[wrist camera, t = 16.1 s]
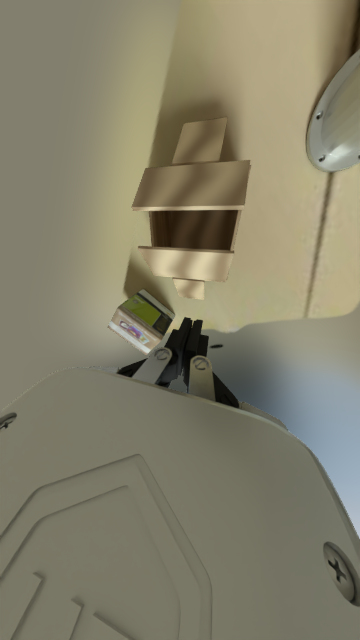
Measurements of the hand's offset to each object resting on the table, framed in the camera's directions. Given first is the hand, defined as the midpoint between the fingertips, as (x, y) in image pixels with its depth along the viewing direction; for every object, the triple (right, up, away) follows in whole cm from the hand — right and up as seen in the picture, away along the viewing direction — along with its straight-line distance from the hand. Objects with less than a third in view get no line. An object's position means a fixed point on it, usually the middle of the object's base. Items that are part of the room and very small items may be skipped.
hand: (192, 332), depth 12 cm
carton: (+4, +23, +22) cm, 32 cm away
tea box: (-11, +5, +39) cm, 41 cm away
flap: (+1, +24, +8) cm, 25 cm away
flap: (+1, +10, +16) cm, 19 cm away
